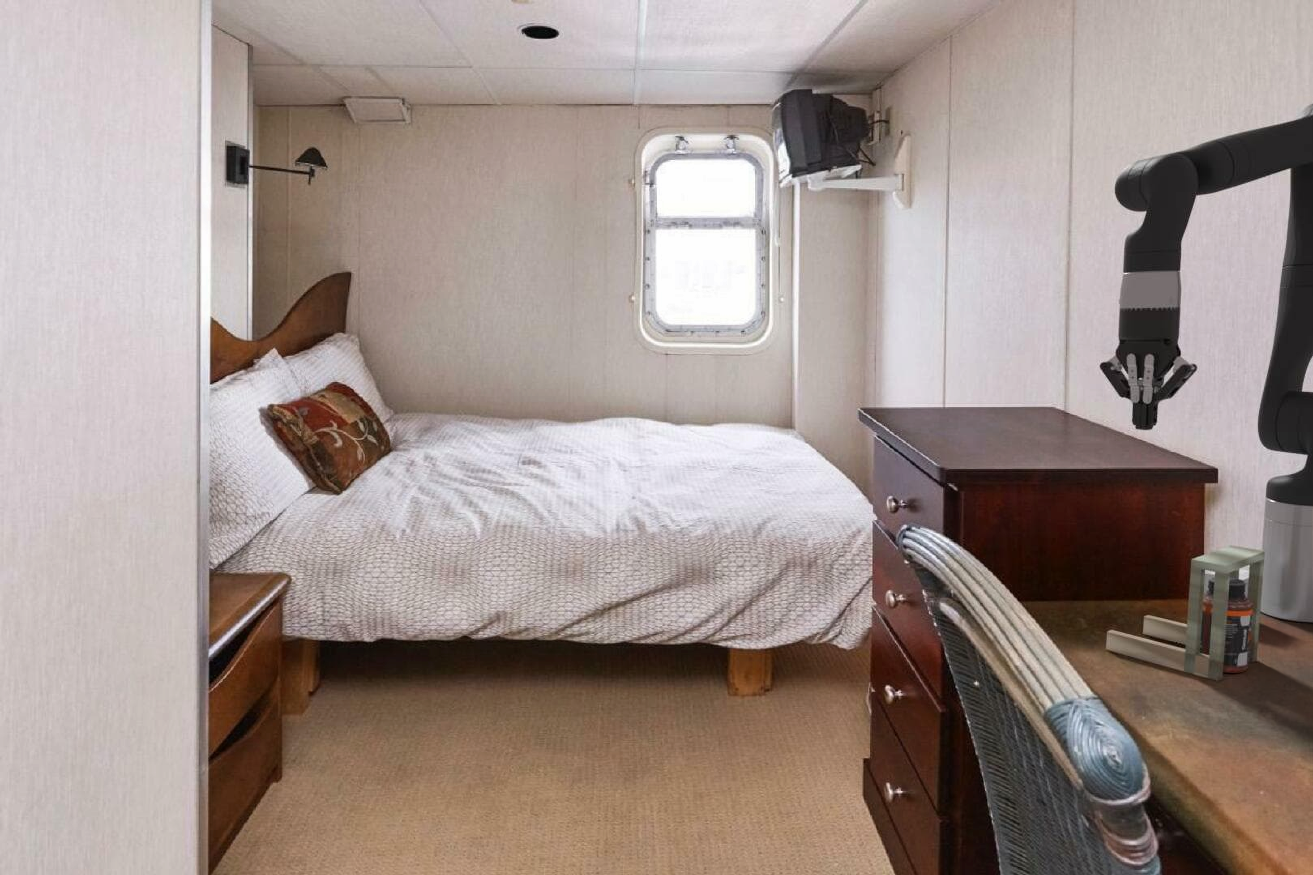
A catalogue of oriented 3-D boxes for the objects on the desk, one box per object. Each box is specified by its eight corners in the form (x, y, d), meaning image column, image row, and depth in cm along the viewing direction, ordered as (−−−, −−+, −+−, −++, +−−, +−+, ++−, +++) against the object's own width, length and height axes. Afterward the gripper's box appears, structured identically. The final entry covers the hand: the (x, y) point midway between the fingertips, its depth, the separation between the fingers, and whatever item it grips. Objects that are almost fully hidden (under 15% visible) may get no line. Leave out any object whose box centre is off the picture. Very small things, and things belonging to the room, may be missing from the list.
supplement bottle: (1258, 675, 117) (1264, 587, 116) (1207, 674, 118) (1213, 586, 116) (1233, 658, 123) (1239, 574, 122) (1185, 657, 124) (1191, 573, 122)
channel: (1147, 632, 133) (1153, 531, 132) (1256, 660, 122) (1265, 551, 121) (1106, 649, 127) (1111, 544, 125) (1218, 681, 116) (1226, 565, 114)
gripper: (1213, 304, 127) (1205, 431, 130) (1117, 305, 138) (1112, 423, 140) (1186, 305, 123) (1179, 436, 125) (1089, 306, 134) (1084, 427, 136)
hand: (1143, 429), depth 133 cm, fingers closed
